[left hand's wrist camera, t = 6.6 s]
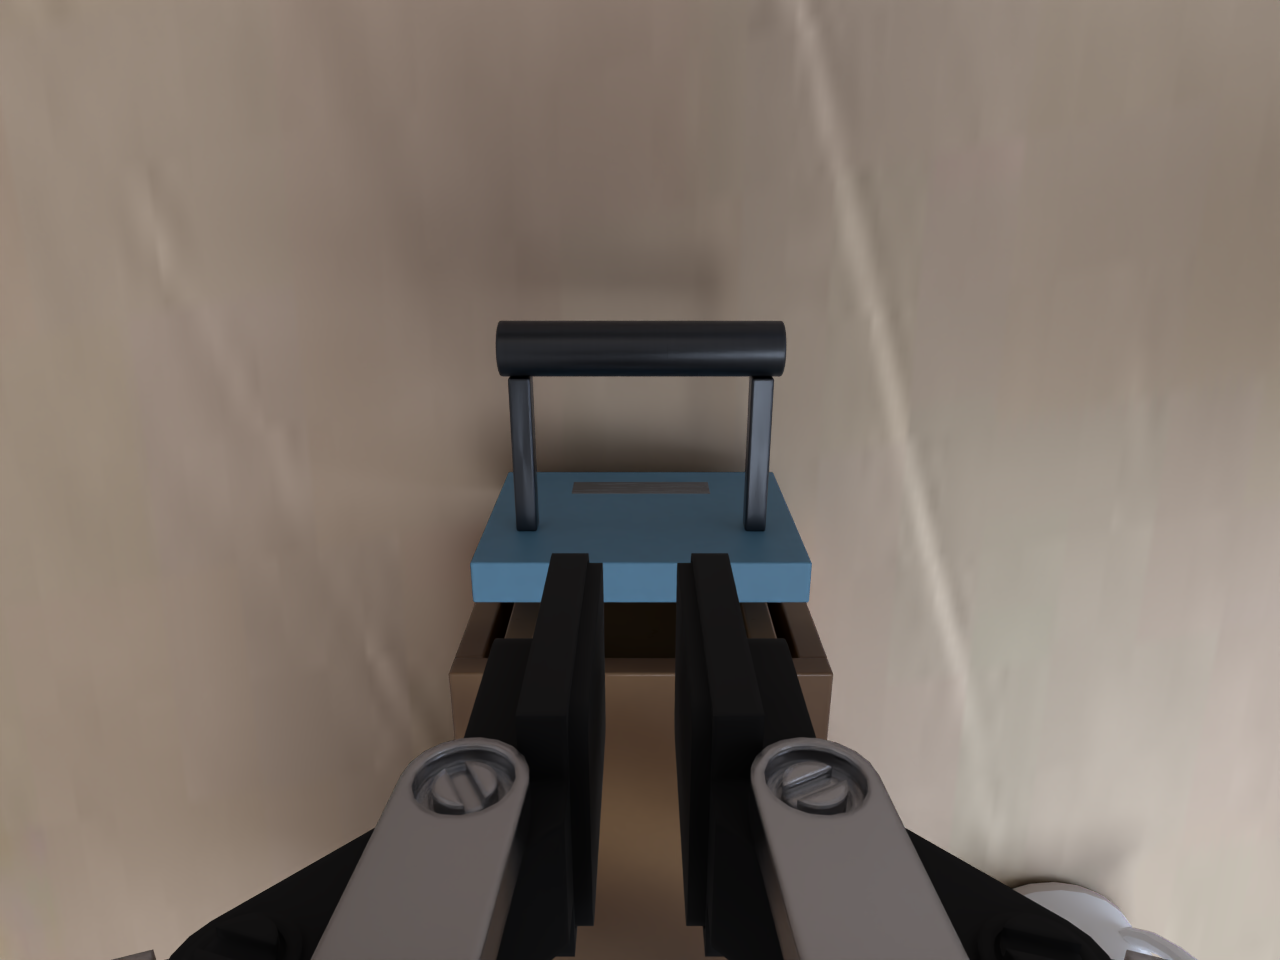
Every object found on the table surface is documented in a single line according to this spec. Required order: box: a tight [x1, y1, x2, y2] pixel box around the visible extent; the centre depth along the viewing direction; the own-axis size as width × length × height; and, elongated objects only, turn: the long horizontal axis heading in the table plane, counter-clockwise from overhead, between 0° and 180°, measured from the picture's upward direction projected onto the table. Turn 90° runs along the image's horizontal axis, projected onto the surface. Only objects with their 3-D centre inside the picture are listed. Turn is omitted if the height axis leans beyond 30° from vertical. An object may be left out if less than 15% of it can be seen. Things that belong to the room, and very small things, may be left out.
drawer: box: [470, 321, 812, 658], centre depth 27 cm, size 21×9×7 cm, turn 0°
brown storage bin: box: [449, 602, 833, 960], centre depth 29 cm, size 16×10×9 cm, turn 0°
